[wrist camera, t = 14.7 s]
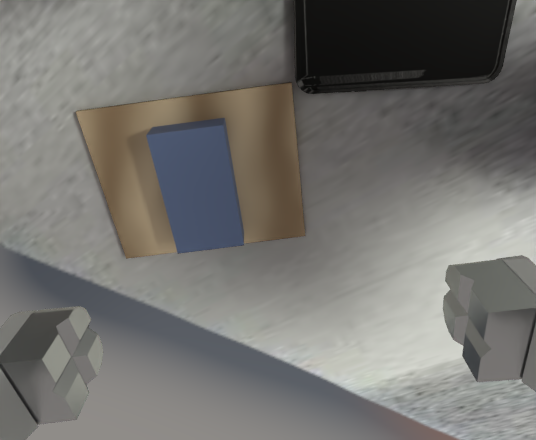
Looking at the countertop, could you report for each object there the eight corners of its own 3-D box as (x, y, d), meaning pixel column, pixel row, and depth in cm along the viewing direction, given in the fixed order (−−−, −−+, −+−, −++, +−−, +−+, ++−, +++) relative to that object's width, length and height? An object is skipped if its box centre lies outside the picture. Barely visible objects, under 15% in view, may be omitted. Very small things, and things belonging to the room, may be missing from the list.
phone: (294, -31, 25) (526, -44, 26) (292, -29, 26) (515, -42, 27) (296, 96, 29) (499, 84, 29) (295, 93, 30) (490, 81, 30)
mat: (291, 82, 29) (291, 83, 29) (304, 233, 36) (305, 235, 35) (77, 110, 30) (75, 112, 29) (127, 255, 36) (126, 258, 35)
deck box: (244, 231, 35) (224, 117, 30) (243, 245, 33) (223, 125, 28) (181, 239, 35) (152, 127, 30) (177, 253, 33) (146, 135, 28)
